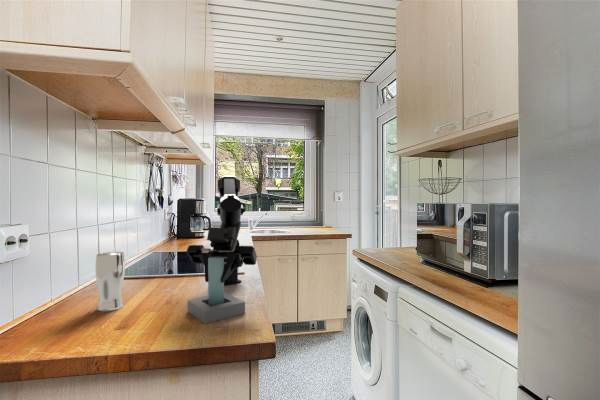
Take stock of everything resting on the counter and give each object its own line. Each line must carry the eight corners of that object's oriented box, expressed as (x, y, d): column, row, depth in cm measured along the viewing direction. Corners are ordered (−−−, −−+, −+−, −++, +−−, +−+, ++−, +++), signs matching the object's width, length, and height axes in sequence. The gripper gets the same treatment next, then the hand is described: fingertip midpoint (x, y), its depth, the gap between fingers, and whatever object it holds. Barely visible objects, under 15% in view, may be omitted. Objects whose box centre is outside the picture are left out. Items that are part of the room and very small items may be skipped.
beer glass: (91, 313, 84) (91, 256, 84) (100, 305, 91) (100, 252, 91) (121, 310, 86) (120, 255, 86) (127, 302, 93) (127, 251, 92)
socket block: (187, 311, 85) (187, 300, 85) (225, 302, 92) (225, 292, 92) (205, 323, 77) (205, 311, 77) (245, 313, 84) (245, 301, 84)
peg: (205, 306, 85) (205, 257, 85) (219, 303, 87) (219, 256, 87) (212, 310, 82) (212, 260, 82) (226, 307, 84) (226, 258, 84)
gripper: (188, 216, 89) (168, 263, 78) (254, 216, 87) (242, 265, 76) (200, 240, 97) (183, 286, 86) (260, 241, 95) (251, 288, 84)
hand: (214, 281), depth 83 cm, fingers closed on peg, 4 cm apart
